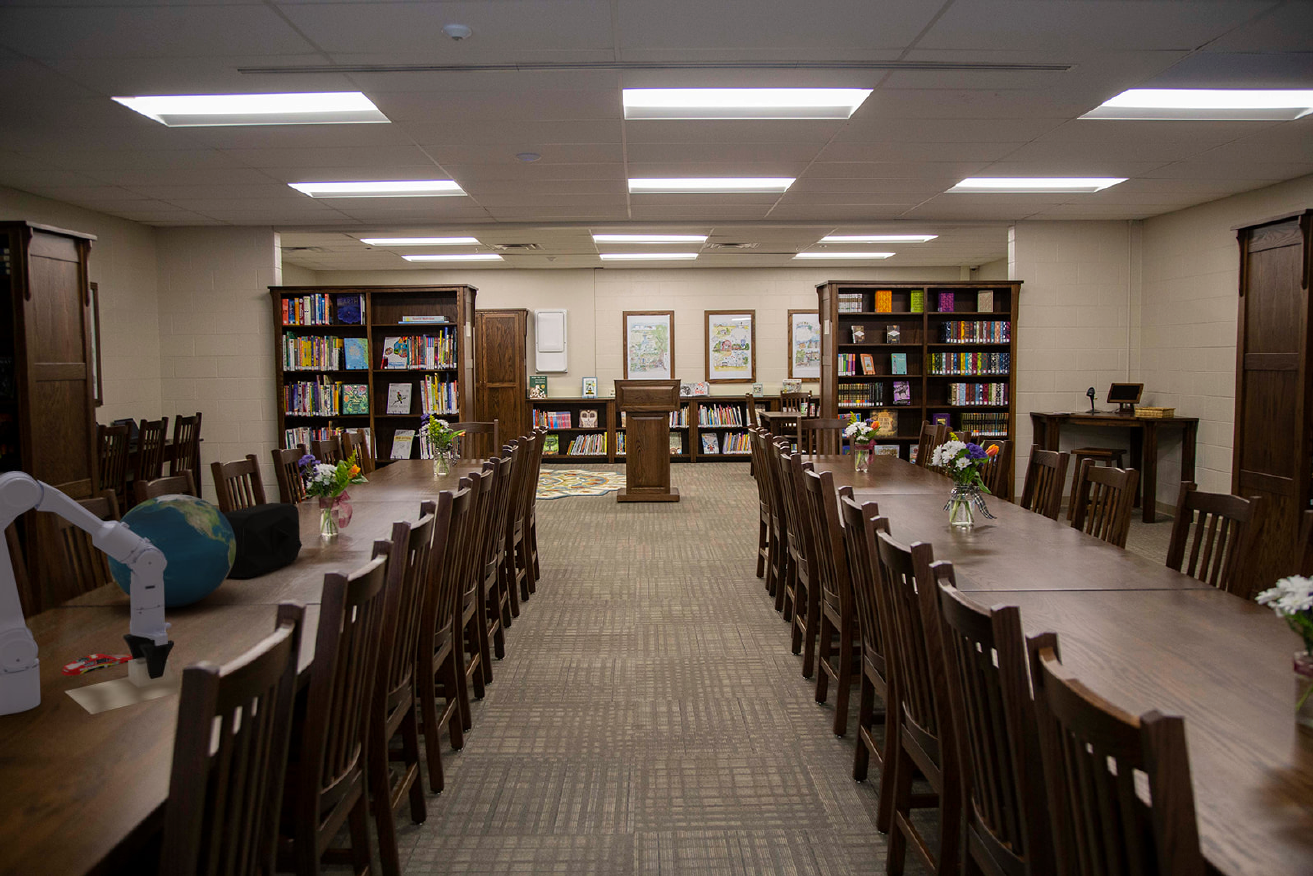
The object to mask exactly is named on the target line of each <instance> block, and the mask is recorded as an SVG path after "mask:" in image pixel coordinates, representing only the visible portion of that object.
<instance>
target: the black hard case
mask: <svg viewBox="0 0 1313 876" xmlns="http://www.w3.org/2000/svg"><path fill="white" fill-rule="evenodd" d="M222 514H223V515H224V516H225V517H226V518H227V520H228V521H229V523H230V525H231V527H232V529H233V532H234V535H235V540H236V554H235V559H234V563H233V566H232V568H231V570H230V572H229V574H228V576H227V577H226V578H241V579H242V578H243V579H250V578H252V577H255V576H258V575H263V574H266V573H268V572H272V571H275V570H277V569H280V568H282V566H283V567H285V566H287V565H289V564H292V562H293V563H294V561H296V559H297V558H298V556H299V553H300V550H301V549H302V546H303V544H302V541H301V537H300V536H301V535H300V533H301V532H300V513H299V508H298V507H297V506H296V505H295V504H294V503H284V502H269V503H262V504H257V505H253V506H248V507H247V506H246V507H244V508H243V507H242V508H239V509H235V510H231V511H227V512H225V513H222ZM284 565H285V566H284ZM276 568H277V569H276ZM274 569H275V570H274ZM271 570H272V571H271ZM265 572H266V573H265ZM262 573H263V574H262Z"/></svg>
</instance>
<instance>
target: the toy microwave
mask: <svg viewBox="0 0 1313 876" xmlns="http://www.w3.org/2000/svg"><path fill="white" fill-rule="evenodd" d="M142 663H144V664H142ZM127 669H128V676H127V677H129V681H130V682H132V683H133V684H134V685H136V686H137V687H143V686H147V685H151V684H155V683H160V682H164V681H168V680H170V670H171V668H170V660H169V659H168V658H167V661H166V665H165V669H164V673H163V676H162V677H159V678H154V679H150V677H149V674H148V668H147V662H146V659H145V657H142V658H137V659H133V660H128V662H127Z"/></svg>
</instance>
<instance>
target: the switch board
mask: <svg viewBox="0 0 1313 876" xmlns="http://www.w3.org/2000/svg"><path fill="white" fill-rule="evenodd" d="M142 664H144V663H142ZM181 677H182V676H181V675H179V674H177V673H176V672H175V671H172V670H171V669H170V680H168V681H164V682H160V683H155V684H151V685H147V686H143V687H137V686H136V685H134V684H133V683H132V682H130V681H129V676H126V677H122V678H116V679H112V680H108V681H103V682H99V683H96V684H90V685H86V686H81V687H78V688H73V689H69V690H64V693H66V694H67V695H68V696H69V697H70V698H71V699H72V700H74V701H75V702H76V703H77V704H79V705H80V706H81V707H82V708H83V709H85V710H86V711H87V712H89V714H91V715H95V714H99V713H104V712H108V711H111V710H115V709H119V708H123V707H126V706H127V707H128V706H131V705H135V704H140V703H143V702H148V701H151V700H154V699H160V698H164V697H167V696H171V695H176V694H179V687H180V678H181Z"/></svg>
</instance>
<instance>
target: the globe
mask: <svg viewBox="0 0 1313 876" xmlns="http://www.w3.org/2000/svg"><path fill="white" fill-rule="evenodd" d="M223 514H224V513H223V512H222V511H220V510H219V509H218V508H217V507H216V506H215V505H213V504H211V503H210V502H208V501H206V500H204V499H202V498H199V497H196V496H192V495H187V494H177V493H175V494H164V495H160V496H159V495H158V496H157V497H156V496H155V497H152V498H150V499H147V500H145V501H143V502H140V503H139V504H137V505H136V506H134V507H133V508H131V509H130V510H129V511H128V512H127V513H125V515H123V516H122V517H121V519H120V520H119V521H118V522H119V523H120V524H121V523H122V522H124V523H126V524H127V525H129V528H128V529H129V530H131V531H132V532H134V533H135V534H137V535H138V536H140V537H141V538H142V539H144V538H147V539H148V540H150V542H149V543H151V544H153V545H154V546H155V547H156V548H157V549H159V550H160V551H161V552H162V553H163V554H164V556H165V559H166V560H167V565H166V568H165V570H164V571H163V581H164V609H166V608H167V609H170V608H172V609H173V608H179V607H186V606H188V605H191V604H195V603H197V602H199V601H202V600H203V599H205V598H206V597H208V596H210V595H211V594H212V593H214V592H215V591H216V590H217V589H218V588H219V587H220V586H221V585H222V584H223V583H224V581H225V580H226V578H228V577H227V576H228V574H229V572H230V570H231V568H232V566H233V563H234V559H235V554H236V540H235V535H234V532H233V529H232V527H231V525H230V523H229V521H228V520H227V518H226V517H225V516H224V515H223ZM107 564H108V568H109V571H110V574H111V576H112V578H113V579H114V581H115V583H116V585H117V586H118V587H119V588H120V589H121V591H123V592H124V593H125V594H126V595H127V596H129V597H130V584H131V571H133V570H132V569H130V568H129V567H128V566H127V563H121V562H119V561H118V560H116V559H114V558H113V557H111V556H110V555H108V554H107Z"/></svg>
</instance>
